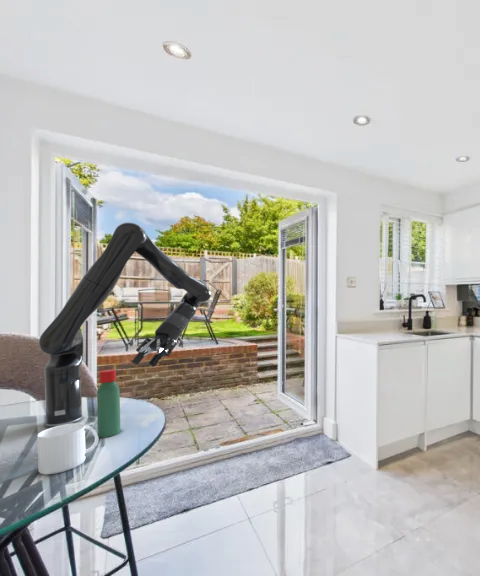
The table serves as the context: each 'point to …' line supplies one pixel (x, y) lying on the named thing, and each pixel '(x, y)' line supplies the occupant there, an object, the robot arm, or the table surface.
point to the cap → (107, 375)
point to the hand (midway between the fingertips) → (142, 364)
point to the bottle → (108, 409)
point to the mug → (63, 447)
